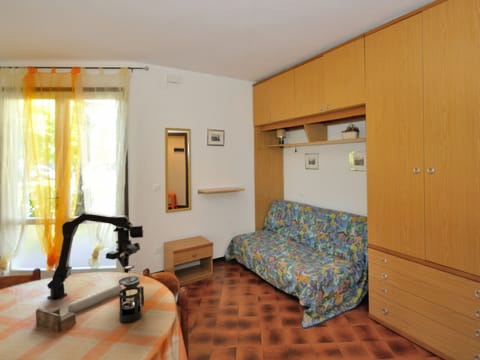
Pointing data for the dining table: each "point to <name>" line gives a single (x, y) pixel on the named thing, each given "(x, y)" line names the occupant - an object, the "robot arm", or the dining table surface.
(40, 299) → the dining table surface
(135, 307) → the french press
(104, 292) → the tube
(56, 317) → the socket
